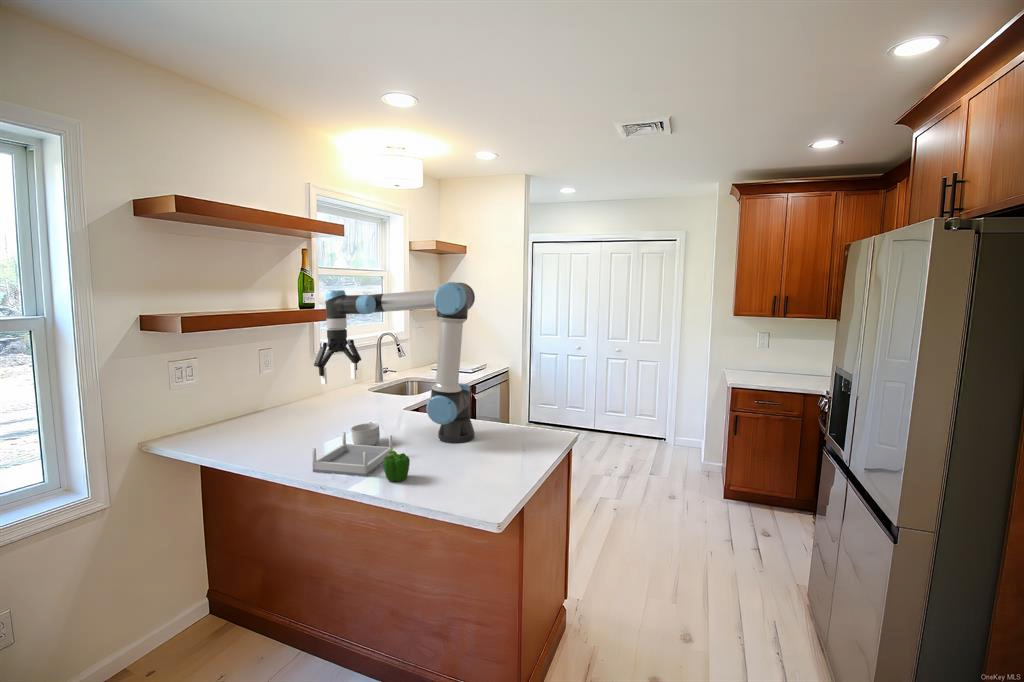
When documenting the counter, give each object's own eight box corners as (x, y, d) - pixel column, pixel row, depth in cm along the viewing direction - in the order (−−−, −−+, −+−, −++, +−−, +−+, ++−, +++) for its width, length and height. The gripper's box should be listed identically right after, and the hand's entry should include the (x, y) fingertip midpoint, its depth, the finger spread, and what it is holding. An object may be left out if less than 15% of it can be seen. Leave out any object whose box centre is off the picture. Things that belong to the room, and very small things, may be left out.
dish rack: (393, 456, 185) (392, 435, 184) (366, 476, 166) (365, 453, 165) (343, 452, 190) (343, 432, 189) (312, 471, 170) (311, 449, 169)
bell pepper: (412, 474, 168) (411, 445, 167) (407, 484, 160) (407, 454, 159) (387, 474, 168) (386, 446, 166) (381, 484, 159) (380, 454, 158)
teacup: (372, 451, 191) (371, 430, 191) (346, 449, 194) (345, 429, 193) (388, 440, 205) (387, 421, 204) (363, 438, 207) (363, 419, 206)
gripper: (357, 326, 211) (359, 375, 213) (302, 330, 191) (305, 385, 193) (368, 327, 206) (370, 377, 209) (313, 331, 187) (316, 387, 189)
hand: (339, 381), depth 201 cm, fingers open, 13 cm apart
